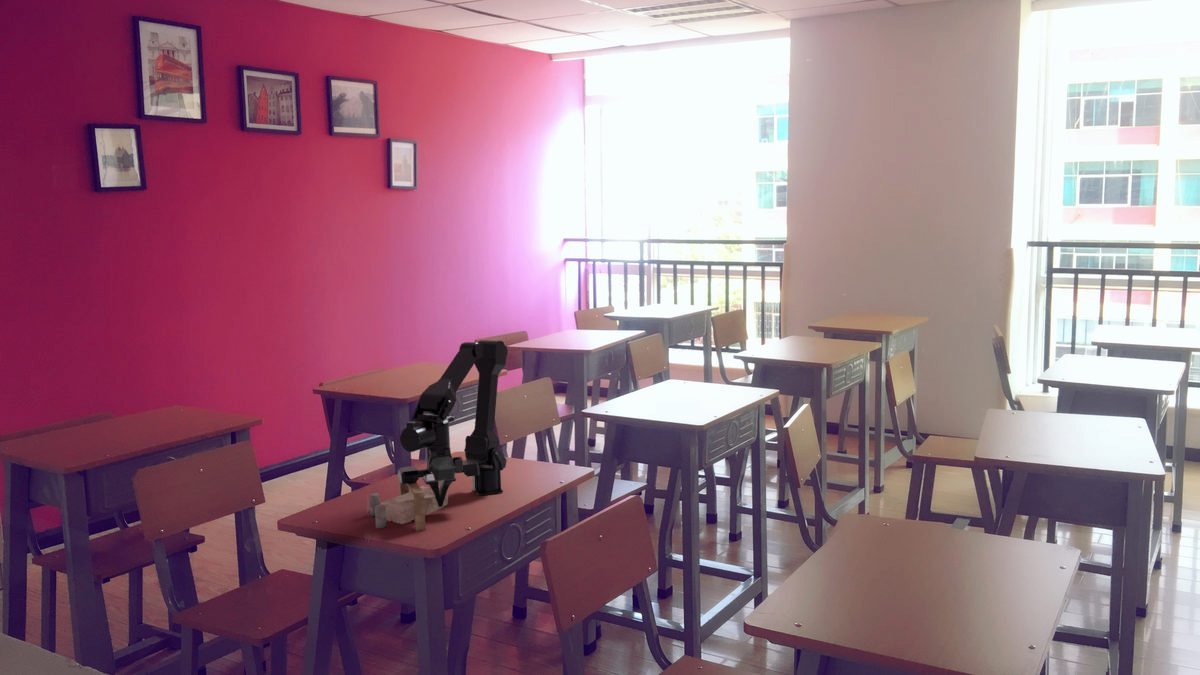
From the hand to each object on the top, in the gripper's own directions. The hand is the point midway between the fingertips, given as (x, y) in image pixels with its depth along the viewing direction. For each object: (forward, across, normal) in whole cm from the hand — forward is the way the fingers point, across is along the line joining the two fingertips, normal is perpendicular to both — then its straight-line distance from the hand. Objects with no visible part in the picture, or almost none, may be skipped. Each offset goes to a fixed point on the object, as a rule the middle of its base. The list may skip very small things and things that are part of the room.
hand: (440, 506), depth 225 cm
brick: (+2, -6, +3) cm, 7 cm away
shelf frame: (+2, -11, 0) cm, 11 cm away
